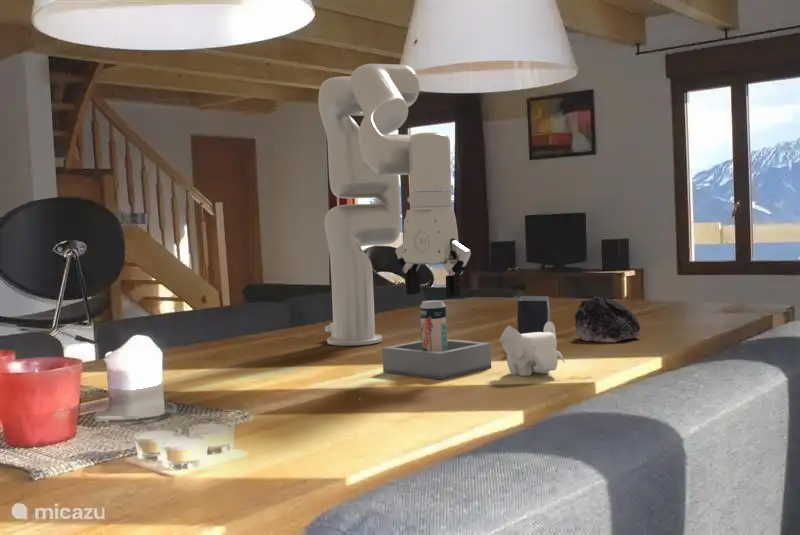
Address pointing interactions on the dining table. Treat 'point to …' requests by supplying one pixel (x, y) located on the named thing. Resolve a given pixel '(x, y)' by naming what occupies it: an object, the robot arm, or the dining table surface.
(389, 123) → the robot arm
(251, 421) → the dining table surface
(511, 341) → the elephant figurine
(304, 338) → the dining table surface
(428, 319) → the beer can
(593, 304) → the crystal cluster
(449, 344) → the tray
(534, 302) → the small box
